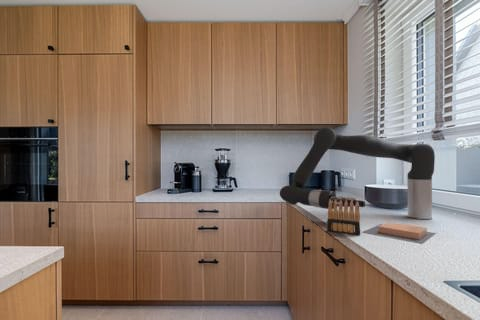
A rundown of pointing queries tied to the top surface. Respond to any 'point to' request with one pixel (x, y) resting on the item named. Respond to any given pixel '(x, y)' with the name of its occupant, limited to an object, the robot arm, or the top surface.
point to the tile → (403, 230)
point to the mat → (375, 232)
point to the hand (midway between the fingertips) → (364, 204)
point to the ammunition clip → (343, 218)
